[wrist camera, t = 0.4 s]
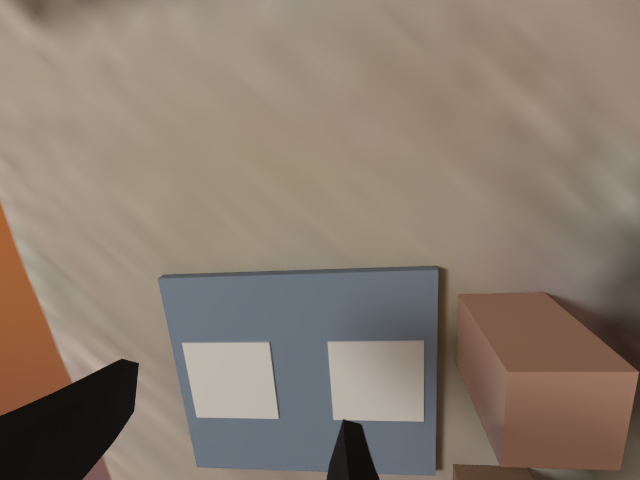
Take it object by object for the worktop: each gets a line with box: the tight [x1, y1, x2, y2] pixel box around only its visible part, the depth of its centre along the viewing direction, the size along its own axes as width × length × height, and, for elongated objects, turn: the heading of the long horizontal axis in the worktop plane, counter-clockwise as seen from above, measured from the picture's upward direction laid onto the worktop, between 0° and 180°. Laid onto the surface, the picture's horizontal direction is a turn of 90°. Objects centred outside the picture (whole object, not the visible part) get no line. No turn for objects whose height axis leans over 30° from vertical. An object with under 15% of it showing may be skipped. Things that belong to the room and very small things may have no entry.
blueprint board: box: [158, 266, 438, 476], centre depth 22 cm, size 14×16×1 cm
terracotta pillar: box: [456, 292, 639, 471], centre depth 17 cm, size 4×4×7 cm
